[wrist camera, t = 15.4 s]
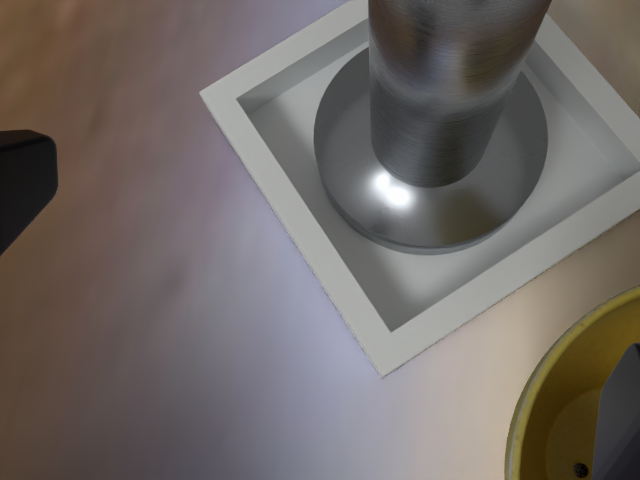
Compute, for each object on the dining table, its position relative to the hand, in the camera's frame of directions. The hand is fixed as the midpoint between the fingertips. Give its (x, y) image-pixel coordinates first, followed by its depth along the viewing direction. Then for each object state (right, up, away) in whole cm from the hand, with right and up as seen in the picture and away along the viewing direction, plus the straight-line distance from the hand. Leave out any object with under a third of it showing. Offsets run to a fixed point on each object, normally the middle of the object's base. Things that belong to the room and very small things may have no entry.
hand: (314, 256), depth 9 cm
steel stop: (+4, +4, +14) cm, 15 cm away
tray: (+4, +3, +14) cm, 15 cm away
